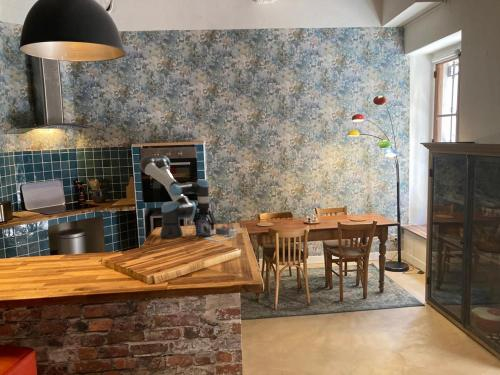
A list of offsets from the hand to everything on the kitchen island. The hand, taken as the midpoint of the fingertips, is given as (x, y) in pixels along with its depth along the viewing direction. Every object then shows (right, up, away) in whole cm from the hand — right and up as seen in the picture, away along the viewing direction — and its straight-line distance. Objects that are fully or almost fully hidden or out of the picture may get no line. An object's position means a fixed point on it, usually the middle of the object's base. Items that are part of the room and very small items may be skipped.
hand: (204, 233), depth 279 cm
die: (+19, -1, -1) cm, 19 cm away
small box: (0, -2, 0) cm, 2 cm away
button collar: (+14, -1, +6) cm, 15 cm away
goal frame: (+11, -2, -9) cm, 14 cm away
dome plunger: (+14, +1, +6) cm, 15 cm away
